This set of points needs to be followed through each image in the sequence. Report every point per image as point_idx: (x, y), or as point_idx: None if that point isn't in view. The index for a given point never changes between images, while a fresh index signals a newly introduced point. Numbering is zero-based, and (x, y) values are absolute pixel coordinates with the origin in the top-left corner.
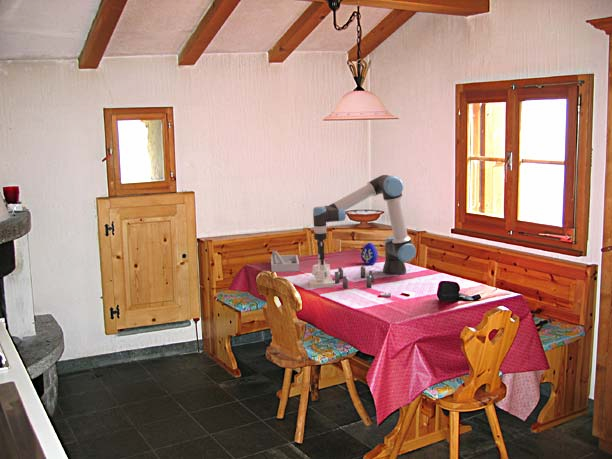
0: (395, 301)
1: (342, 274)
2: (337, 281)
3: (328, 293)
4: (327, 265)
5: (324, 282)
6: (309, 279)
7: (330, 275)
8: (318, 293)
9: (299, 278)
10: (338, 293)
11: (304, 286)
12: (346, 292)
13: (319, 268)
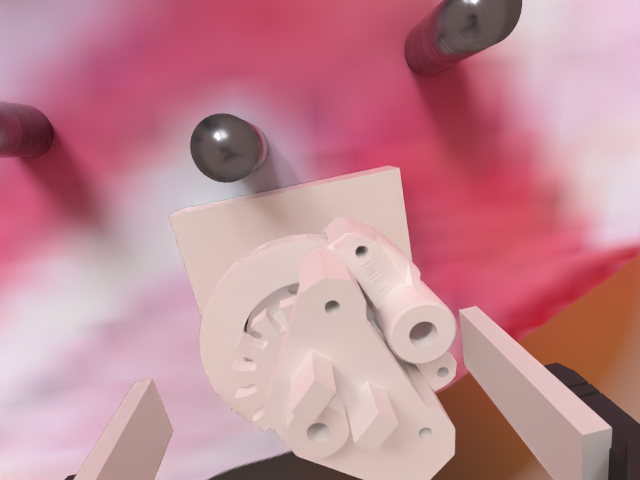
0: None
1: (1, 106)
2: (265, 142)
3: (590, 186)
4: (364, 301)
5: None
6: None
7: (350, 218)
8: (580, 263)
9: None
10: (602, 100)
11: None
12: (578, 25)
13: (425, 383)
